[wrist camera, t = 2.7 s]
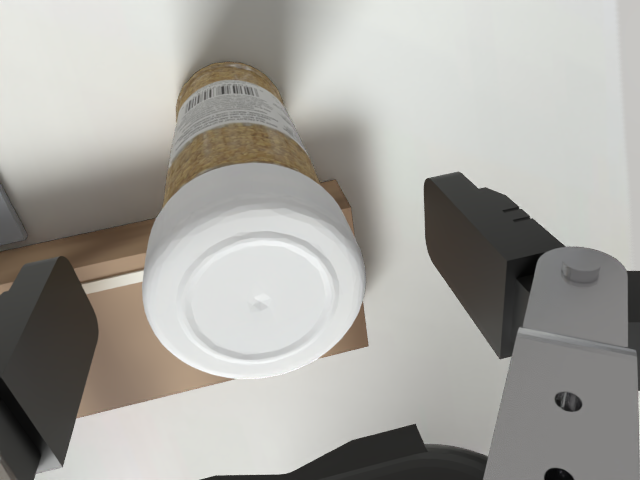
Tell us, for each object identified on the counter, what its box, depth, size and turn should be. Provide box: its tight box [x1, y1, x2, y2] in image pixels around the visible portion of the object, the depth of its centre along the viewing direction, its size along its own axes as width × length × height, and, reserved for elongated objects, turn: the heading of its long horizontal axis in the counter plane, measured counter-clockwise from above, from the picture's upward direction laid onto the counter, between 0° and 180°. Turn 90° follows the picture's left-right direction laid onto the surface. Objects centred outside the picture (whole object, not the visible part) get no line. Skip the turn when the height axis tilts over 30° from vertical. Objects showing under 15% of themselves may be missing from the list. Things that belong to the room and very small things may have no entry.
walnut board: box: [0, 180, 368, 418], centre depth 23 cm, size 24×8×3 cm, turn 98°
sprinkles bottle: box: [142, 62, 366, 379], centre depth 16 cm, size 5×5×13 cm
